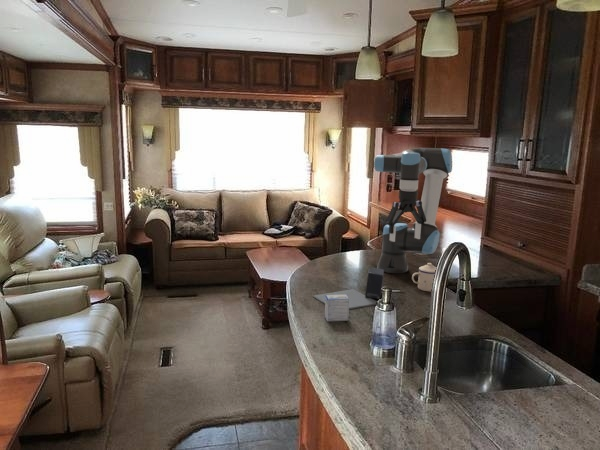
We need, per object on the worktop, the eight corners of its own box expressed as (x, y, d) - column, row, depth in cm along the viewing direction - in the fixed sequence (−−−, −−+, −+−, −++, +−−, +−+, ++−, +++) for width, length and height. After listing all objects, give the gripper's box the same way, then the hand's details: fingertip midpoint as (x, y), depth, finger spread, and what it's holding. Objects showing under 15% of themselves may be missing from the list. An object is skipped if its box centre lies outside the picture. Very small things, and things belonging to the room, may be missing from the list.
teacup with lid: (434, 285, 215) (436, 260, 213) (441, 292, 206) (443, 266, 204) (408, 285, 214) (409, 260, 212) (414, 292, 205) (416, 266, 203)
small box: (380, 299, 193) (383, 274, 192) (364, 297, 195) (367, 272, 193) (381, 292, 204) (384, 268, 202) (366, 290, 205) (368, 266, 203)
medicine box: (345, 316, 176) (346, 294, 174) (348, 321, 172) (349, 298, 170) (324, 317, 175) (325, 294, 173) (327, 322, 170) (328, 299, 169)
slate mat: (353, 290, 205) (353, 289, 205) (378, 304, 190) (379, 302, 189) (313, 296, 196) (313, 295, 196) (336, 311, 180) (336, 310, 180)
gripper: (425, 188, 207) (421, 235, 211) (378, 189, 196) (375, 240, 200) (437, 190, 201) (433, 239, 205) (390, 192, 189) (386, 244, 193)
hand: (404, 239), depth 202 cm, fingers open, 13 cm apart
